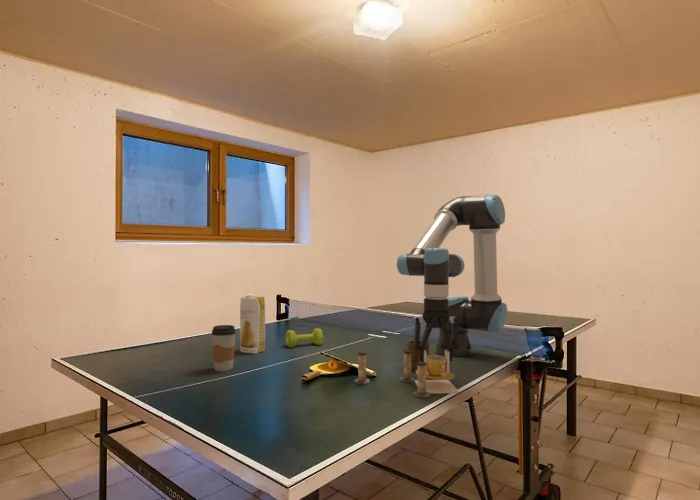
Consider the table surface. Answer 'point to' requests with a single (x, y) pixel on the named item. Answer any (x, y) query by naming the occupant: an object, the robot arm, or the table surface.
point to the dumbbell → (304, 337)
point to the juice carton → (252, 324)
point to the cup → (437, 368)
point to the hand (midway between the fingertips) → (435, 371)
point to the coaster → (439, 386)
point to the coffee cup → (223, 347)
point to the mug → (416, 354)
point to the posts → (407, 377)
